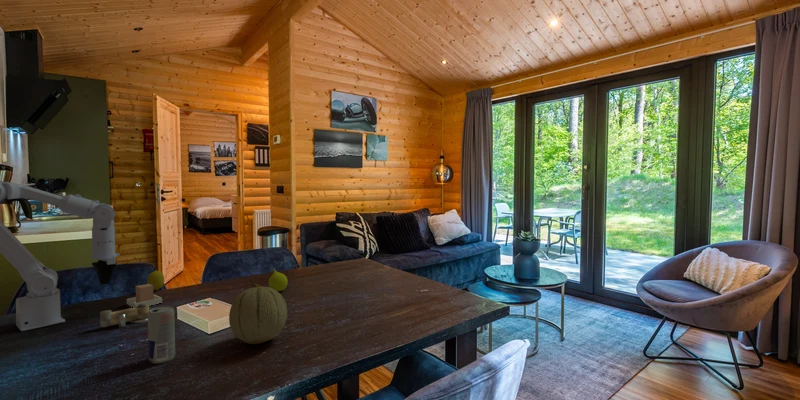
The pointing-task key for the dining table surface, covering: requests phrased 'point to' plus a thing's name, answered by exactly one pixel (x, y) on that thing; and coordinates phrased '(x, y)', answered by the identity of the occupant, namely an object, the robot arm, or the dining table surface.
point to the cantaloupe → (257, 314)
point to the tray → (133, 303)
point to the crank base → (123, 321)
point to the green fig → (278, 281)
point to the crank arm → (131, 314)
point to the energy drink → (161, 334)
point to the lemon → (156, 279)
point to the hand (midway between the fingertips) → (104, 283)
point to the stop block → (144, 293)
